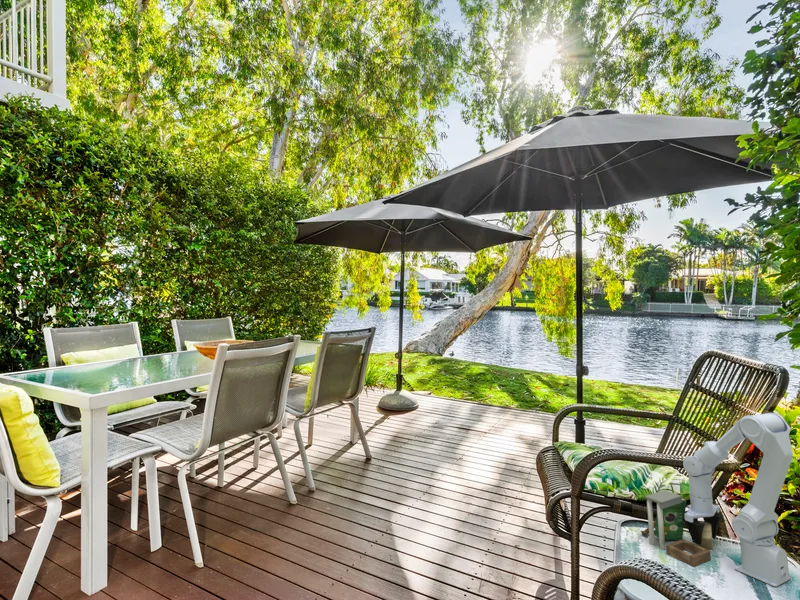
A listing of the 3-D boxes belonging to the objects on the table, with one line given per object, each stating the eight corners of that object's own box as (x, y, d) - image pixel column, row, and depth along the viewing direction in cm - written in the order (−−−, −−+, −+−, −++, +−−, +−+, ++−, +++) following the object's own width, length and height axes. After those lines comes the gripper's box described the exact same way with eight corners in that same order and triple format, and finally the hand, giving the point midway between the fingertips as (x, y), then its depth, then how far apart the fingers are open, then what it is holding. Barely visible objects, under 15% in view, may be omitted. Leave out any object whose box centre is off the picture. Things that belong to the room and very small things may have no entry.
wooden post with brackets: (665, 529, 141) (661, 518, 141) (650, 544, 139) (645, 532, 138) (660, 527, 143) (656, 515, 143) (645, 542, 140) (640, 530, 140)
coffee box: (676, 535, 139) (680, 495, 139) (683, 540, 136) (687, 499, 136) (653, 535, 138) (657, 494, 138) (660, 540, 135) (663, 498, 135)
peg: (715, 548, 131) (713, 524, 131) (708, 551, 129) (706, 527, 129) (701, 542, 134) (700, 519, 135) (694, 545, 133) (692, 522, 133)
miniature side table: (685, 543, 134) (681, 495, 135) (665, 551, 130) (661, 502, 131) (668, 536, 139) (664, 490, 140) (648, 543, 135) (644, 496, 136)
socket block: (711, 559, 125) (710, 550, 125) (694, 567, 121) (693, 557, 121) (682, 547, 132) (682, 538, 132) (666, 554, 128) (665, 545, 128)
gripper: (701, 486, 139) (704, 529, 138) (673, 495, 133) (676, 540, 132) (725, 493, 133) (728, 538, 132) (697, 503, 127) (700, 550, 126)
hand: (704, 540), depth 132 cm, fingers open, 7 cm apart
